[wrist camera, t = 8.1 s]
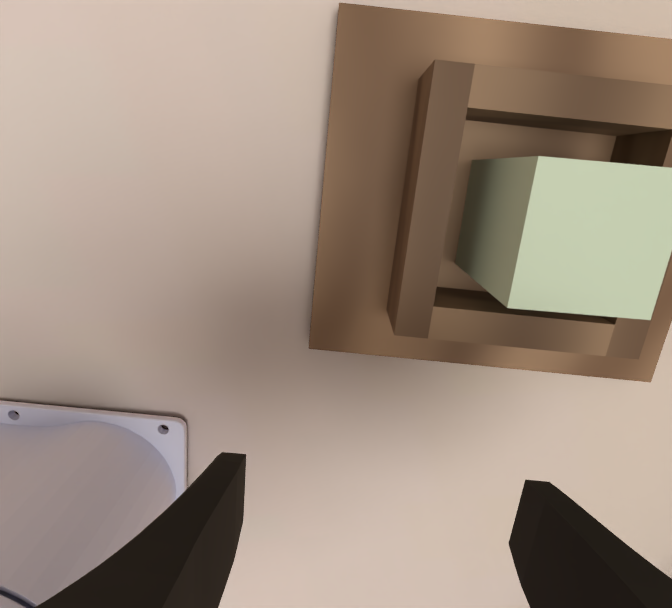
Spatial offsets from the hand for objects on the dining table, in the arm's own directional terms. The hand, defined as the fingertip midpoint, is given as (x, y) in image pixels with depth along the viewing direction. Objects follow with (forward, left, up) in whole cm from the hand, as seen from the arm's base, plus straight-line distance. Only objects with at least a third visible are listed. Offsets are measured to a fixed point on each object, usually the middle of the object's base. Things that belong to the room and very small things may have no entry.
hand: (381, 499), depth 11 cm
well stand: (+5, +7, -9) cm, 13 cm away
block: (+5, +7, -8) cm, 12 cm away
